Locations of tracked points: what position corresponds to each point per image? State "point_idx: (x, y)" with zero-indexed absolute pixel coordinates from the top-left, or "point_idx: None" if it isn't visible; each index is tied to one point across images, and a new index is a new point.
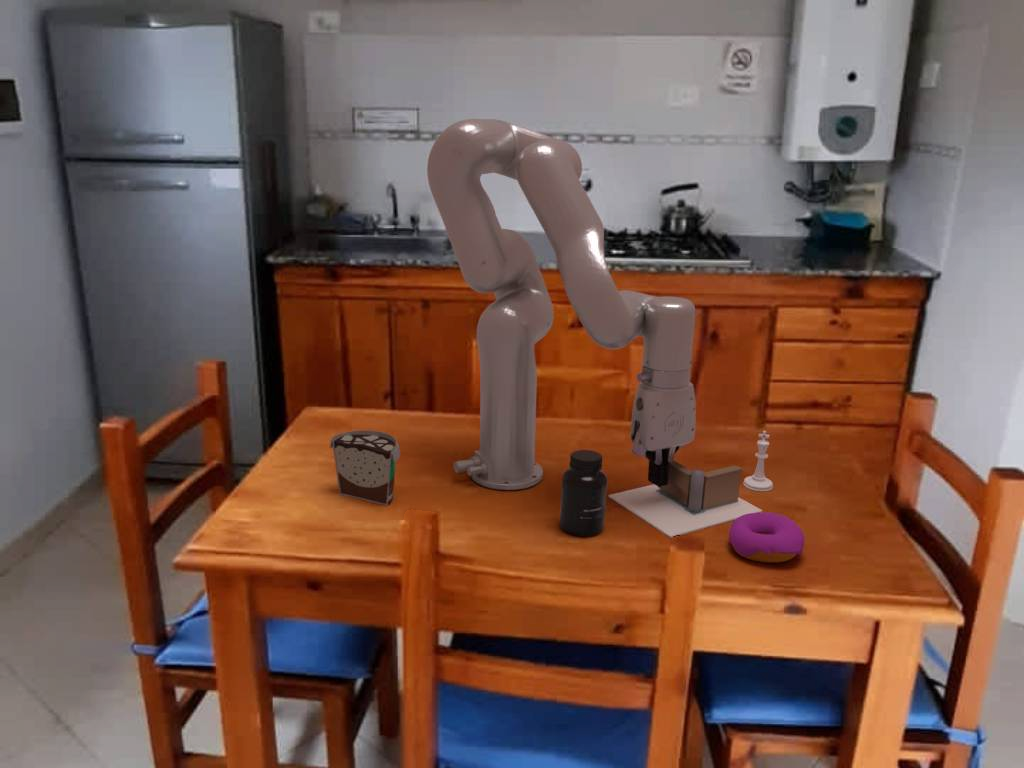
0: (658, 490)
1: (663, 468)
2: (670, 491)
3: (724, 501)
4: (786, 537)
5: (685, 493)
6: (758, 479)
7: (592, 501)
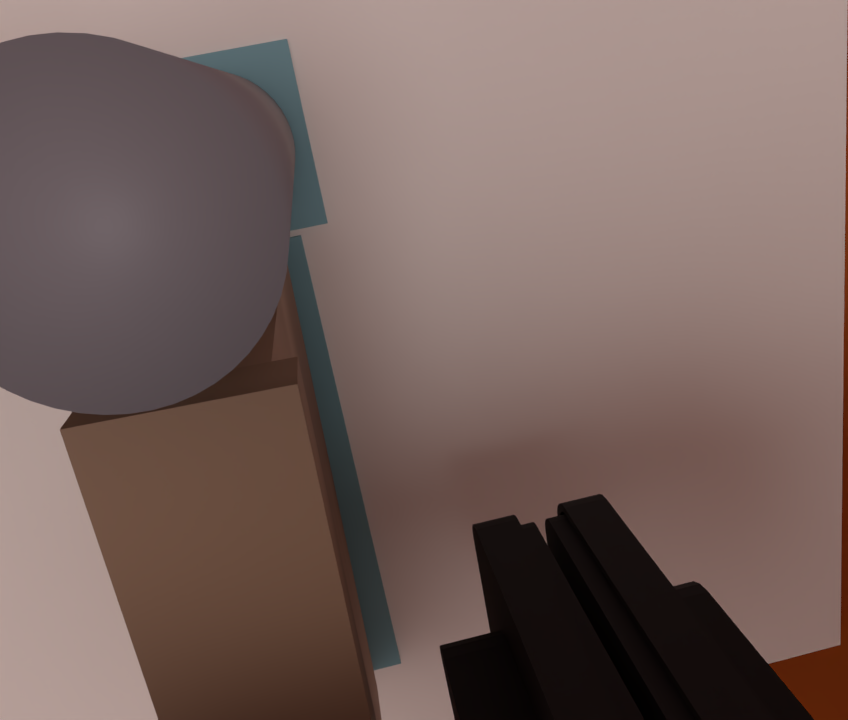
0: (377, 655)
1: (696, 684)
2: (344, 540)
3: None
4: None
5: (290, 318)
6: None
7: None
